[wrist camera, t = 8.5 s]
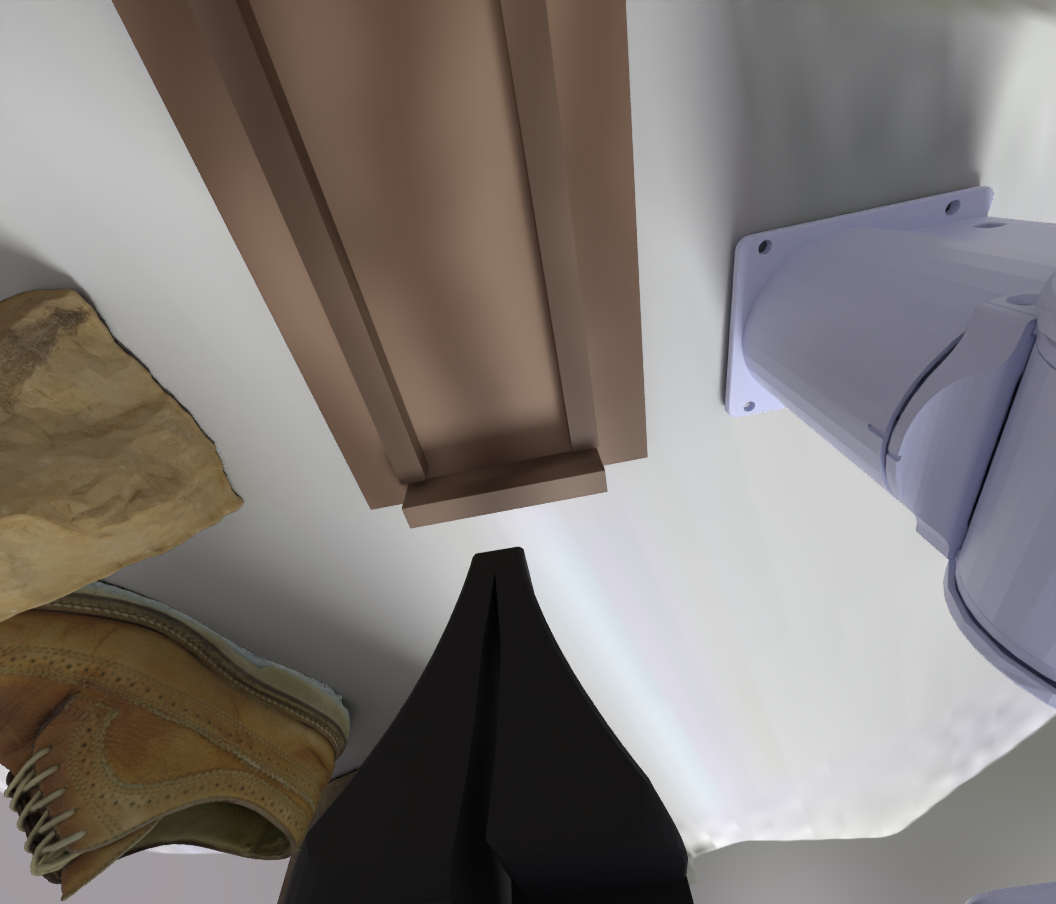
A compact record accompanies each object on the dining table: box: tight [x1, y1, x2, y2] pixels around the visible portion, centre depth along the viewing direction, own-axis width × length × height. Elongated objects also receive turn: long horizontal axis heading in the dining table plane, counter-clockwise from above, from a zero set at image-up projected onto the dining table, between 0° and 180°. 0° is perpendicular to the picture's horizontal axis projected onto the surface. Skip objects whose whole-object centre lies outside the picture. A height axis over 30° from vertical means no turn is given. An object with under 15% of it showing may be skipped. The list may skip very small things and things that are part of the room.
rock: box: [0, 289, 243, 622], centre depth 17 cm, size 11×9×10 cm
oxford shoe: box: [0, 581, 351, 901], centre depth 25 cm, size 28×10×11 cm, turn 46°
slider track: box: [112, 0, 647, 528], centre depth 14 cm, size 14×26×3 cm, turn 11°
